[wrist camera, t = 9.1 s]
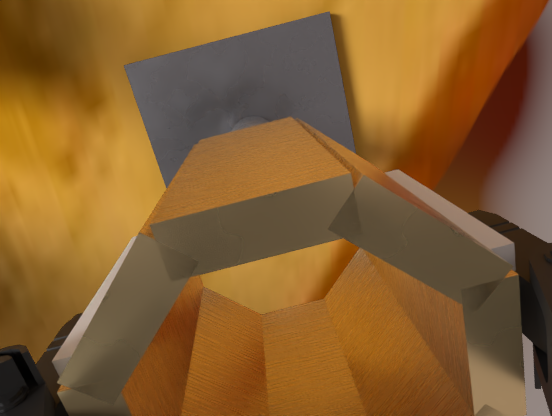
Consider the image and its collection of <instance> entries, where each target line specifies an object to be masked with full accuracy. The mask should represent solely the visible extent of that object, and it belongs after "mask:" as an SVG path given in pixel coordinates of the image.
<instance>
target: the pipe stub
mask: <svg viewBox="0 0 552 416" xmlns="http://www.w3.org/2000/svg"><path fill="white" fill-rule="evenodd" d="M124 68H125V70H126V73H127V76H128V79H129V82H130V85H131V88H132V90H133V93H134V96H135V99H136V102H137V105H138V108H139V111H140V113H141V116H142V119H143V122H144V125H145V128H146V131H147V134H148V136H149V139H150V142H151V145H152V148H153V151H154V154H155V157H156V159H157V162H158V165H159V168H160V171H161V174H162V177H163V180H164V182H165V185H166V188H168V186H169V184H170V183H171V181H172V180H173V178H174V176H175V175H176V173H177V172H178V170H179V168H180V167H181V165H182V164H183V162H184V161H185V159H186V157H187V156H188V154H189V153H190V151H191V149H192V148H193V146H194V145H195V144H198V142H199V141H200V140H201V139H205V138H209V137H213V136H217V135H221V134H225V133H228V132H232V131H236V130H240V129H244V128H248V127H252V126H256V125H260V124H264V123H267V122H271V121H275V120H279V119H283V118H287V117H292V118H293V119H294V120H296V118H299V119H300V120H302V121H303V122H305V123H307V124H308V125H310V126H312V127H313V128H315V129H316V130H318V131H320V132H321V133H323V134H324V135H326V136H328V137H329V138H331V139H332V140H334V141H336V142H337V143H339V144H341V145H342V146H344V147H345V148H347V149H349V150H350V151H352V152H353V153H355V154H356V151H355V145H354V140H353V135H352V129H351V124H350V119H349V113H348V108H347V103H346V97H345V92H344V87H343V81H342V76H341V71H340V65H339V60H338V55H337V49H336V44H335V39H334V33H333V28H332V23H331V17H330V12H326V13H322V14H318V15H314V16H310V17H307V18H303V19H299V20H295V21H291V22H287V23H284V24H280V25H276V26H272V27H268V28H265V29H261V30H257V31H253V32H249V33H246V34H242V35H238V36H234V37H230V38H226V39H223V40H219V41H215V42H211V43H207V44H204V45H200V46H196V47H192V48H188V49H185V50H181V51H177V52H173V53H169V54H166V55H162V56H158V57H154V58H150V59H146V60H143V61H139V62H135V63H131V64H127V65H124Z"/></svg>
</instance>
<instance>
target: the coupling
mask: <svg viewBox="0 0 552 416" xmlns="http://www.w3.org/2000/svg"><path fill="white" fill-rule="evenodd" d="M342 238H344V239H346V240H348V241H349V242H351V243H353V244H355V245H356V246H358V247H360V248H359V250H358V251H357V253H356V254H355V255H354V257H353V258H352V260H351V261H350V263H349V264H348V265H347V267H346V268H345V270H344V271H343V272H342V274H341V275H340V277H339V278H338V280H337V281H336V282H335V284H334V285H333V287H332V288H331V290H330V291H329V292H328V294H327V295H326V297H325V298H324V299H321V300H317V301H313V302H309V303H305V304H301V305H297V306H293V307H289V308H286V309H282V310H278V311H274V312H270V313H266V314H262V315H261V314H259V313H257V312H255V311H253V310H251V309H249V308H246V307H244V306H242V305H240V304H238V303H236V302H234V301H232V300H230V299H228V298H226V297H224V296H222V295H220V294H217V293H215V292H213V291H211V290H209V289H207V288H205V287H204V286H203V283H202V281H201V278H200V275H201V274H205V273H209V272H213V271H217V270H221V269H225V268H229V267H233V266H236V265H240V264H244V263H248V262H252V261H256V260H260V259H264V258H268V257H272V256H276V255H279V254H283V253H287V252H291V251H295V250H299V249H303V248H307V247H311V246H315V245H319V244H322V243H326V242H330V241H334V240H338V239H342ZM513 267H514V266H513V265H511V264H510V263H508V262H507V261H506V260H504V259H503V258H501V257H500V256H499V255H497V254H496V253H495V252H493V251H492V250H490V249H489V248H488V247H486V246H485V245H483V244H482V243H481V242H479V241H478V240H477V239H475V238H474V237H472V236H471V235H470V234H468V233H467V232H465V231H464V230H463V229H461V228H460V227H459V226H457V225H456V224H454V223H453V222H452V221H450V220H449V219H447V218H446V217H445V216H443V215H442V214H441V213H439V212H438V211H436V210H435V209H434V208H432V207H431V206H429V205H428V204H427V203H425V202H424V201H422V200H421V199H420V198H418V197H417V196H416V195H414V194H413V193H411V192H410V191H409V190H407V189H406V188H404V187H403V186H402V185H400V184H399V183H398V182H396V181H395V180H393V179H392V178H391V177H389V176H388V175H386V174H385V173H384V172H382V171H381V170H380V169H378V168H377V167H375V166H374V165H373V164H371V163H369V162H368V161H366V160H365V159H363V158H361V157H360V156H358V155H357V154H355V153H353V152H352V151H350V150H349V149H347V148H345V147H344V146H342V145H341V144H339V143H337V142H336V141H334V140H332V139H331V138H329V137H328V136H326V135H324V134H323V133H321V132H320V131H318V130H316V129H315V128H313V127H312V126H310V125H308V124H307V123H305V122H303V121H302V120H300V119H299V118H296V120H294V119H293V118H292V117H287V118H283V119H279V120H275V121H271V122H267V123H264V124H260V125H256V126H252V127H248V128H244V129H240V130H236V131H232V132H228V133H225V134H221V135H217V136H213V137H209V138H205V139H201V140H200V141H199V142H198V144H195V145H194V146H193V148H192V149H191V151H190V153H189V154H188V156H187V157H186V159H185V161H184V162H183V164H182V165H181V167H180V168H179V170H178V172H177V173H176V175H175V176H174V178H173V180H172V181H171V183H170V184H169V186H168V188H167V189H166V191H165V192H164V194H163V195H162V197H161V199H160V200H159V202H158V203H157V205H156V207H155V208H154V210H153V211H152V213H151V215H150V216H149V218H148V219H147V221H146V222H145V224H144V226H143V227H142V229H141V230H140V232H139V234H138V236H137V237H136V239H135V241H134V243H133V245H132V247H131V248H130V250H129V252H128V254H127V256H126V258H125V259H124V261H123V263H122V265H121V267H120V269H119V270H118V272H117V274H116V276H115V278H114V280H113V281H112V283H111V285H110V287H109V289H108V290H107V292H106V294H105V296H104V298H103V300H102V301H101V303H100V305H99V307H98V309H97V311H96V312H95V314H94V316H93V318H92V320H91V322H90V323H89V325H88V327H87V329H86V331H85V332H84V334H83V336H82V338H81V340H80V342H79V343H78V345H77V347H76V349H75V351H74V353H73V354H72V356H71V358H70V360H69V362H68V364H67V365H66V367H65V369H64V371H63V373H62V374H61V376H60V378H59V380H58V382H57V383H58V384H61V386H60V388H59V390H58V392H57V394H58V396H59V398H60V400H61V402H62V403H63V405H64V407H65V409H66V411H67V413H68V415H69V416H524V415H526V397H525V378H524V361H523V344H522V326H521V308H520V290H519V275H518V274H517V273H516V272H514V271H513V270H512V268H513Z"/></svg>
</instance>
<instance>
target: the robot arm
mask: <svg viewBox="0 0 552 416" xmlns="http://www.w3.org/2000/svg"><path fill="white" fill-rule="evenodd" d="M385 174H386V175H388V176H389V177H391V178H392V179H393V180H395V181H396V182H398V183H399V184H400V185H402V186H403V187H404V188H406V189H407V190H409V191H410V192H411V193H413V194H414V195H416V196H417V197H418V198H420V199H421V200H422V201H424V202H425V203H427V204H428V205H429V206H431V207H432V208H434V209H435V210H436V211H438V212H439V213H441V214H442V215H443V216H445V217H446V218H447V219H449V220H450V221H452V222H453V223H454V224H456V225H457V226H459V227H460V228H461V229H463V230H464V231H465V232H467V233H468V234H470V235H471V236H472V237H474V238H475V239H477V240H478V241H479V242H481V243H482V244H483V245H485V246H486V247H488V248H489V249H490V250H492V251H493V252H495V253H496V254H497V255H499V256H500V257H501V258H503V259H504V260H506V261H507V262H508V263H510V264H511V265H513V266H514V267H513V268H512V270H513V271H514V272H516V273H517V274H518V275H519V290H520V308H521V326H522V333H523V334H524V335H525V336H526V337H527V338H528V339H529V340H531V341H532V342H533V356H534V377H535V388H536V389H541V386H542V389H543V392H544V395H545V398H546V402H547V405H548V408H549V411H550V414H551V416H552V243H547V242H545V241H543V240H541V239H539V238H537V237H536V236H534V235H532V234H531V233H529V232H527V231H525V230H524V229H520V228H519V227H518V226H517V225H515V224H513V223H509V221H508V220H506V219H504V218H502V217H501V216H499V215H497V214H493V213H489V212H485V211H481V210H477V211H473V212H470V213H466V212H464V211H463V210H461V209H460V208H458V207H457V206H455V205H454V204H452V203H450V202H449V201H447V200H446V199H444V198H443V197H441V196H439V195H438V194H436V193H435V192H433V191H432V190H430V189H428V188H427V187H425V186H424V185H422V184H420V183H419V182H417V181H416V180H414V179H413V178H411V177H409V176H408V175H406V174H405V173H403V172H402V171H400V170H398V169H397V170H393V171H389V172H386V173H385ZM136 237H137V236H136ZM136 237H132V239H131V240H130V242H129V243H128V245H127V247H126V248H125V250H124V251H123V253H122V254H121V256H120V257H119V259H118V260H117V262H116V263H115V265H114V267H113V268H112V270H111V271H110V273H109V274H108V276H107V277H106V279H105V280H104V282H103V283H102V285H101V286H100V288H99V290H98V291H97V293H96V294H95V296H94V297H93V299H92V300H91V302H90V303H89V305H88V306H87V308H86V309H85V311H84V313H80V314H77V315H76V316H74V317H73V318H72V319H71V320H70V321H69V322H67V323H66V324H65V325H64V326H63V327H62V328H61V329H60V331H59V332H58V334H57V335H56V337H55V338H54V341H52V342H51V344H50V345H49V347H48V348H47V352H44V354H43V355H42V357H41V358H40V360H39V361H38V362H37V364H35V362H34V360H33V359H32V357H31V355H30V353H29V351H28V349H27V347H26V346H23V345H14V346H8V347H6V348H3V349H0V416H69V415H68V413H67V411H66V409H65V407H64V405H63V403H62V402H61V400H60V398H59V396H58V394H57V392H58V390H59V388H60V386H61V384H58V383H57V382H58V380H59V378H60V376H61V374H62V373H63V371H64V369H65V367H66V365H67V364H68V362H69V360H70V358H71V356H72V354H73V353H74V351H75V349H76V347H77V345H78V343H79V342H80V340H81V338H82V336H83V334H84V332H85V331H86V329H87V327H88V325H89V323H90V322H91V320H92V318H93V316H94V314H95V312H96V311H97V309H98V307H99V305H100V303H101V301H102V300H103V298H104V296H105V294H106V292H107V290H108V289H109V287H110V285H111V283H112V281H113V280H114V278H115V276H116V274H117V272H118V270H119V269H120V267H121V265H122V263H123V261H124V259H125V258H126V256H127V254H128V252H129V250H130V248H131V247H132V245H133V243H134V241H135V239H136Z"/></svg>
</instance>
